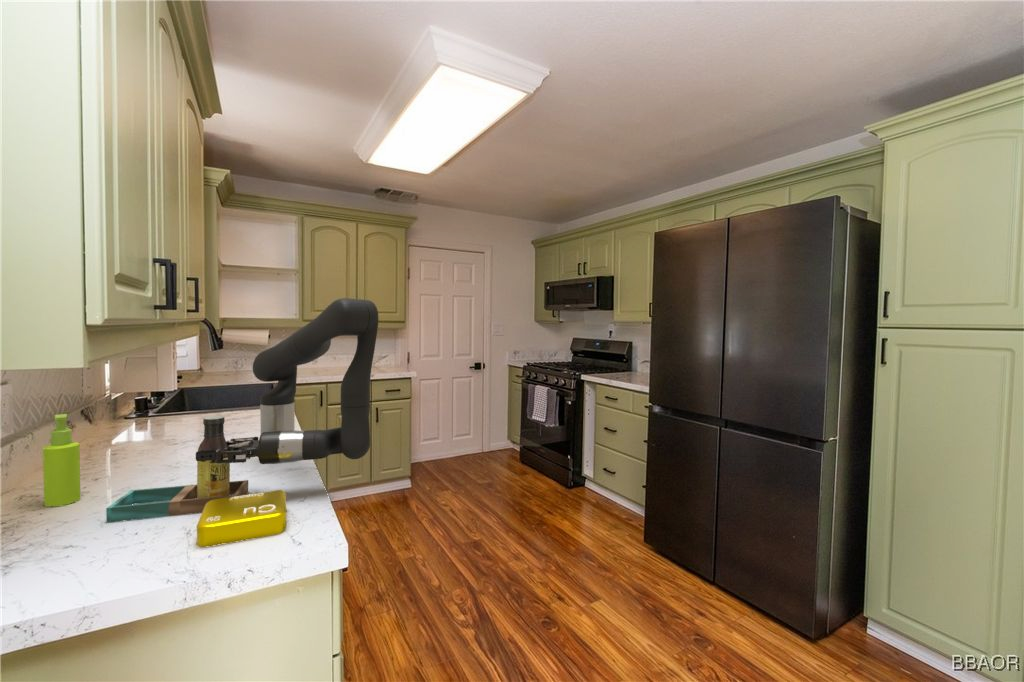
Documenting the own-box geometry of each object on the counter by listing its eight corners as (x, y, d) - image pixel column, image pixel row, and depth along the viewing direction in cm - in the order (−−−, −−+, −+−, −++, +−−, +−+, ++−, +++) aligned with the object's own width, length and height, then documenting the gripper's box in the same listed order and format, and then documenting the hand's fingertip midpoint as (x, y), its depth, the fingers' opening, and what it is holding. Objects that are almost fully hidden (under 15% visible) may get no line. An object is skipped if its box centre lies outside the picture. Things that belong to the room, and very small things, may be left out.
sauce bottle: (213, 510, 99) (211, 421, 98) (190, 507, 101) (187, 420, 100) (237, 498, 106) (235, 415, 105) (214, 496, 107) (213, 413, 106)
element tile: (285, 507, 102) (285, 486, 102) (286, 534, 89) (286, 510, 89) (207, 519, 96) (206, 497, 95) (195, 551, 82) (194, 525, 82)
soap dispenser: (80, 493, 107) (78, 411, 107) (80, 502, 102) (79, 415, 102) (45, 500, 103) (43, 414, 103) (43, 509, 98) (41, 419, 98)
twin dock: (131, 503, 102) (131, 490, 102) (248, 492, 110) (248, 480, 110) (106, 522, 92) (106, 508, 92) (237, 509, 100) (237, 495, 100)
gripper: (287, 424, 114) (211, 428, 109) (277, 438, 100) (189, 443, 95) (287, 453, 114) (211, 459, 109) (277, 471, 101) (189, 478, 95)
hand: (201, 452), depth 102 cm, fingers closed on sauce bottle, 6 cm apart
